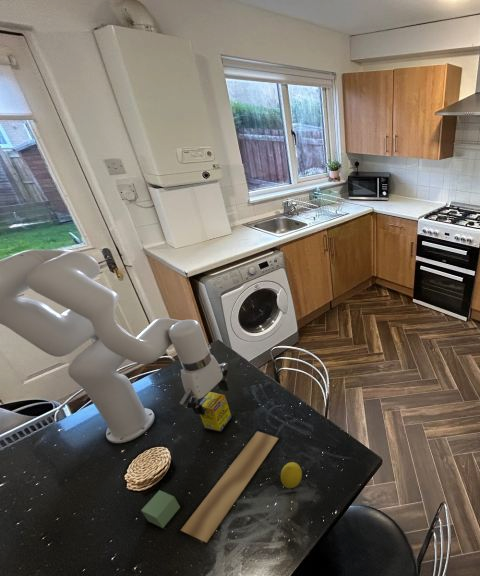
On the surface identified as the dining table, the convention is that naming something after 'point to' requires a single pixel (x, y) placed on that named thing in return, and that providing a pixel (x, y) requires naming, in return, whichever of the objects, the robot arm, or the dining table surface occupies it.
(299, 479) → the lemon
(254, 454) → the wooden strip
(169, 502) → the green block
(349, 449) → the dining table surface
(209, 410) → the supplement box
